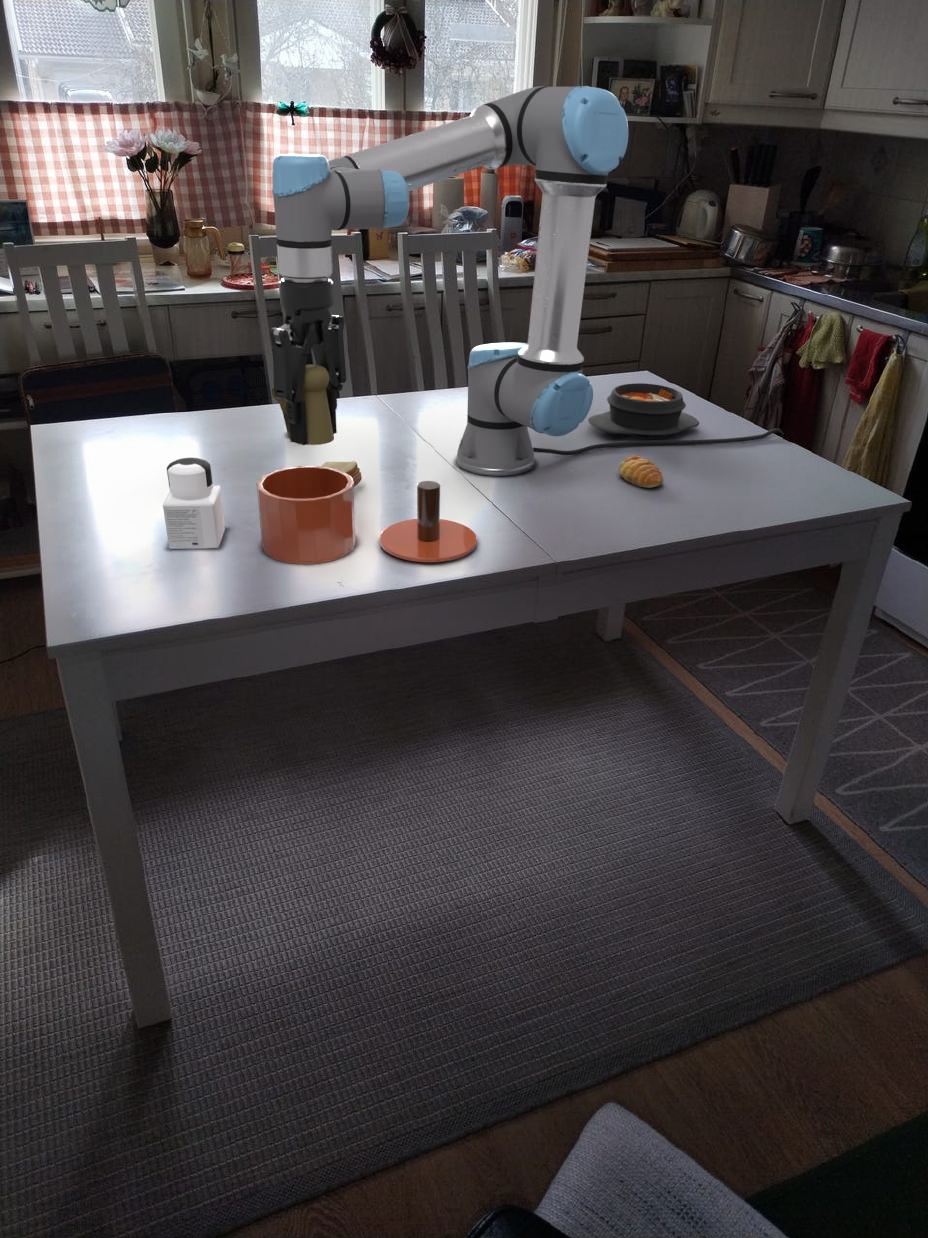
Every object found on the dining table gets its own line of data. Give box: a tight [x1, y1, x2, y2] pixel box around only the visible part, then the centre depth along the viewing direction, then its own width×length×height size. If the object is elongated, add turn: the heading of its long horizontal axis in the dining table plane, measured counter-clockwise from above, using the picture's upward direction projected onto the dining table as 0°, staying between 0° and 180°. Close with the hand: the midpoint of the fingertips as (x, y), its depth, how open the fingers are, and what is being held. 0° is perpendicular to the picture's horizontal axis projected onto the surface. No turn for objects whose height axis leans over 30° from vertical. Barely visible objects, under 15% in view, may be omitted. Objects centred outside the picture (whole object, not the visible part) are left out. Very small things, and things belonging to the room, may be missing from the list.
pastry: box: [618, 455, 664, 489], centre depth 174 cm, size 9×7×4 cm
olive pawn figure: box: [301, 364, 335, 446], centre depth 138 cm, size 6×6×11 cm
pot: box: [256, 465, 357, 565], centre depth 145 cm, size 15×15×10 cm
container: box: [162, 457, 226, 550], centre depth 144 cm, size 8×8×13 cm
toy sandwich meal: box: [320, 460, 363, 488], centre depth 167 cm, size 12×14×5 cm
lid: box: [379, 480, 478, 563], centre depth 146 cm, size 16×16×10 cm
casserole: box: [587, 382, 700, 438], centre depth 201 cm, size 25×19×8 cm
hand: (313, 436), depth 140 cm, fingers closed on olive pawn figure, 6 cm apart
